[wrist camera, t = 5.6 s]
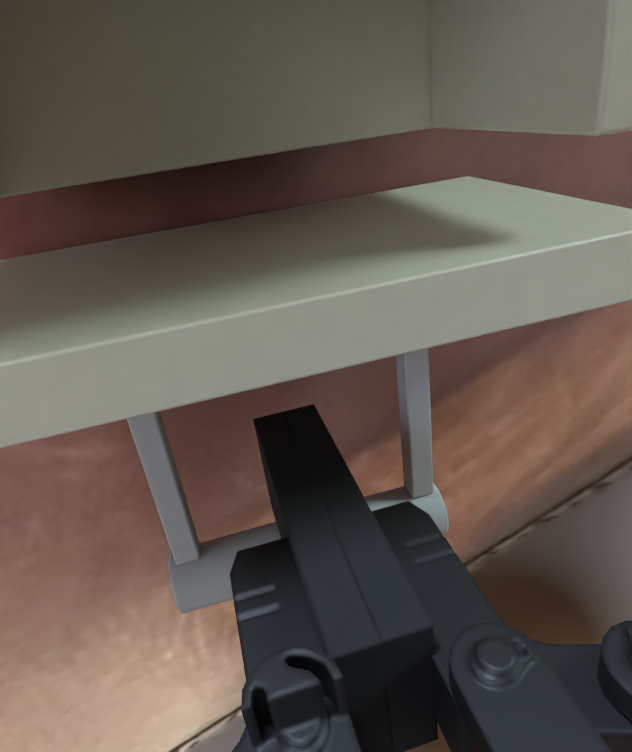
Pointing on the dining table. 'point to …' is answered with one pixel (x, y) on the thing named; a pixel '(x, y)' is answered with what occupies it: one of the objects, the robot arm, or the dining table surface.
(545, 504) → the dining table surface
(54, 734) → the dining table surface
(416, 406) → the drawer
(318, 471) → the robot arm
